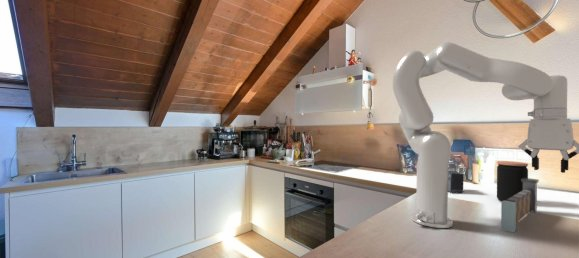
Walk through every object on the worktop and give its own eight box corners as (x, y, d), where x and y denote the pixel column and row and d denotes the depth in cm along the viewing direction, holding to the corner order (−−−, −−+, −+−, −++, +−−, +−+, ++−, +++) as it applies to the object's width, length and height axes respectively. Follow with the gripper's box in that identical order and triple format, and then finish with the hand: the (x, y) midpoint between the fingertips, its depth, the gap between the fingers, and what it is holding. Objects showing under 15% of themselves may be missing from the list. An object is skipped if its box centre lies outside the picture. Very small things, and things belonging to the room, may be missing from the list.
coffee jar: (531, 206, 107) (531, 164, 107) (498, 202, 113) (499, 162, 113) (524, 201, 116) (524, 162, 116) (494, 197, 122) (495, 160, 122)
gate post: (536, 214, 97) (536, 180, 97) (520, 211, 101) (521, 178, 101) (538, 212, 100) (538, 179, 100) (523, 209, 103) (523, 177, 104)
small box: (464, 194, 128) (464, 173, 128) (450, 193, 129) (450, 173, 129) (455, 189, 138) (455, 170, 138) (442, 188, 140) (442, 169, 140)
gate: (514, 226, 82) (514, 201, 82) (506, 225, 83) (506, 199, 83) (531, 211, 98) (531, 190, 98) (524, 210, 99) (524, 189, 99)
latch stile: (513, 232, 79) (513, 203, 79) (501, 229, 81) (501, 201, 81) (515, 230, 81) (515, 202, 81) (503, 227, 83) (504, 200, 83)
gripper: (512, 115, 86) (511, 168, 85) (590, 112, 72) (590, 176, 72) (517, 116, 90) (517, 166, 90) (592, 114, 76) (591, 173, 76)
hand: (549, 170), depth 81 cm, fingers open, 5 cm apart
